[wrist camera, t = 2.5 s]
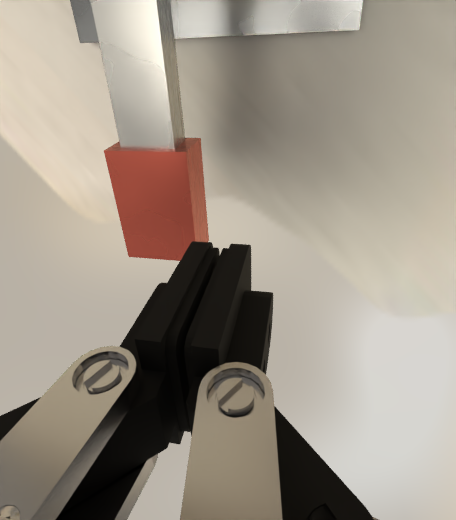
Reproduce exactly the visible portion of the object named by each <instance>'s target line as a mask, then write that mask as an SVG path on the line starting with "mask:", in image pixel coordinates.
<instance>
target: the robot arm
mask: <svg viewBox="0 0 456 520" xmlns="http://www.w3.org/2000/svg"><path fill="white" fill-rule="evenodd" d="M272 314H273V293H271V292H259V291H251V246H250V245H243V244H231V245H230V247H229V249H227V248H223V250H222V252H221V254H220V255H219V249H218V248H213V245H212V243H211V242H197V241H192V242H191V243H190V245H189V247H188V249H187V250H186V252H185V254H184V255H183V257H182V259H181V260H180V262H179V264H178V266H177V267H176V269H175V271H174V272H173V274H172V276H171V278H170V279H169V281H168V283H160V284H159V285H158V286H157V288H156V289H155V291H154V292H153V294H152V296H151V297H150V299H149V300H148V302H147V304H146V305H145V307H144V308H143V310H142V311H141V313H140V315H139V316H138V318H137V319H136V321H135V323H134V325H133V326H132V328H131V329H130V331H129V333H128V334H127V336H126V337H125V339H124V340H123V342H122V344H121V345H120V347H116V346H107V347H100V348H97V349H95V350H91V351H89V352H88V353H86V354H84V355H82V356H81V357H80V358H78V359H77V360H76V361H75V362H74V363H73V364H72V365H71V366H70V367H69V368H68V369H67V370H66V371H65V372H64V373H63V375H62V376H61V377H60V378H59V379H58V380H57V381H56V382H55V383H54V384H53V385H52V386H51V387H50V388H49V389H48V391H47V392H46V393H45V394H44V395H43V396H42V397H40V398H38V399H36V400H34V401H32V402H30V403H27V404H25V405H23V406H21V407H19V408H17V409H14V410H12V411H10V412H8V413H6V414H4V415H1V416H0V520H127V519H128V517H129V515H130V513H131V511H132V509H133V507H134V505H135V503H136V501H137V499H138V497H139V495H140V494H141V491H142V490H143V488H144V486H145V484H146V482H147V480H148V478H149V476H150V474H151V472H152V470H153V468H154V466H155V463H156V461H157V458H158V453H160V452H161V451H163V450H164V449H166V448H167V447H168V444H169V443H176V444H180V443H181V439H182V436H183V433H184V431H187V432H190V431H191V436H192V438H191V446H190V453H189V460H188V466H187V474H186V480H185V488H184V495H183V502H182V509H181V516H180V520H378V519H376V518H374V517H372V516H371V515H370V513H369V512H368V510H367V509H366V507H365V506H364V505H363V504H362V503H361V502H360V501H359V499H358V498H357V497H356V496H355V495H354V494H353V493H352V492H351V491H350V490H349V488H348V487H347V486H346V485H345V484H344V483H343V482H342V480H341V479H340V478H339V477H338V476H337V475H336V474H335V473H334V472H333V471H332V469H331V468H329V466H328V465H327V464H326V463H325V462H324V460H323V459H322V458H321V457H320V456H319V455H318V454H317V453H316V452H315V451H314V450H313V448H312V447H311V446H310V445H309V444H308V443H307V442H306V441H305V439H304V438H303V437H302V436H301V435H300V434H299V433H298V432H297V431H296V429H295V428H294V427H293V426H292V425H291V424H290V423H289V422H288V421H287V419H285V417H284V416H283V415H282V414H281V413H280V412H279V411H278V410H277V408H276V407H275V406H274V398H273V389H272V385H271V382H270V380H269V379H268V377H267V376H266V370H267V363H268V354H269V347H270V339H271V329H272Z"/></svg>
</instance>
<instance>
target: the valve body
mask: <svg viewBox="0 0 456 520" xmlns="http://www.w3.org/2000/svg"><path fill="white" fill-rule="evenodd" d="M70 2H71V6H72V10H73V15H74V19H75V23H76V27H77V32H78V36H79V40H80V43H93V42H99V40H98V35H97V30H96V25H95V20H94V15H93V11H92V6H91V1H90V0H70ZM362 6H363V0H171V10H172V19H173V29H174V38H175V39H178V38H199V37H221V36H242V35H263V34H285V33H306V32H327V31H349V30H359V28H360V21H361V13H362Z"/></svg>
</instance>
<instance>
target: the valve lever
mask: <svg viewBox="0 0 456 520" xmlns="http://www.w3.org/2000/svg"><path fill="white" fill-rule="evenodd" d="M90 1H91V6H92V11H93V15H94V20H95V25H96V30H97V35H98V40H99V44H100V49H101V54H102V59H103V64H104V69H105V73H106V78H107V83H108V88H109V93H110V98H111V102H112V107H113V112H114V117H115V122H116V127H117V132H118V136H119V142H118V143H116V144H114V145H113V146H111V147H109V148H108V149H106V150H104V153H105V157H106V162H107V166H108V170H109V174H110V179H111V183H112V187H113V192H114V196H115V200H116V204H117V209H118V213H119V217H120V221H121V225H122V230H123V234H124V239H125V242H126V246H127V251H128V255H129V257H139V258H152V259H164V260H177V261H180V260H181V259H182V257H183V255H184V254H185V252H186V250H187V249H188V247H189V245H190V243H191V242H192V241H197V242H208V241H209V236H208V224H207V212H206V200H205V188H204V176H203V164H202V151H201V139H200V138H185V133H184V123H183V114H182V105H181V95H180V86H179V76H178V67H177V57H176V48H175V38H174V29H173V19H172V10H171V0H90Z"/></svg>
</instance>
